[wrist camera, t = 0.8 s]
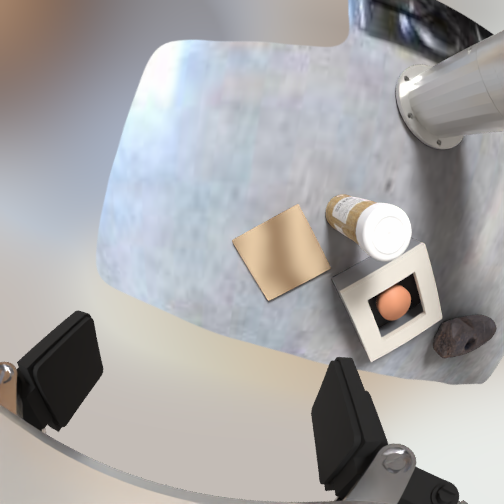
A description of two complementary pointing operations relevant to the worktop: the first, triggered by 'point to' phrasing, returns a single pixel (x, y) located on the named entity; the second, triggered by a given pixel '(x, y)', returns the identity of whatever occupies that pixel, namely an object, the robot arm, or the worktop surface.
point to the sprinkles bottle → (371, 225)
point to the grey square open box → (376, 281)
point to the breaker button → (393, 302)
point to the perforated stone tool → (463, 335)
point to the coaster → (282, 252)
